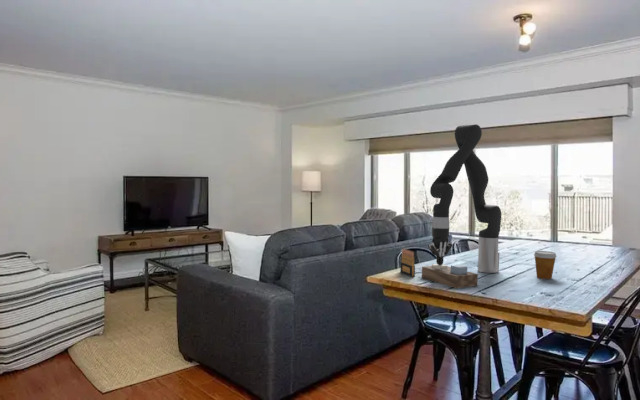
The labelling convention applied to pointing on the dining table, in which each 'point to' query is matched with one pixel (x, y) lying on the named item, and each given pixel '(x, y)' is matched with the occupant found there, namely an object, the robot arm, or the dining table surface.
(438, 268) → the cream key
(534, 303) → the dining table surface
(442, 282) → the key panel
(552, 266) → the disposable coffee cup
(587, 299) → the dining table surface
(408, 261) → the wooden panel with frame
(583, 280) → the dining table surface
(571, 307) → the dining table surface
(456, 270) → the slate key
